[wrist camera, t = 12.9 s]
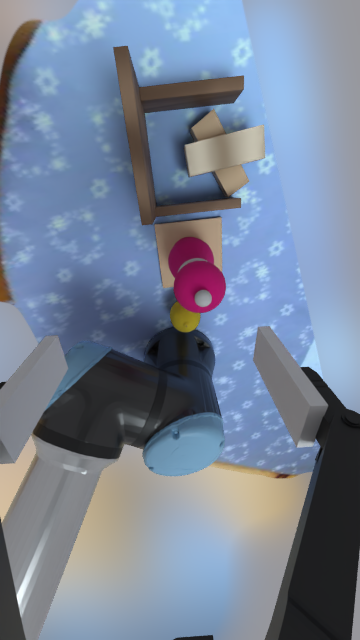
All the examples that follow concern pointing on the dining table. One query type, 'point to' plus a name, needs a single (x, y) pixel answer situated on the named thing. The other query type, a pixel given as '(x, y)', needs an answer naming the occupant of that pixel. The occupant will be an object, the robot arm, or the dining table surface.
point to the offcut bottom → (226, 177)
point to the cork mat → (175, 231)
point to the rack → (162, 100)
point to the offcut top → (225, 151)
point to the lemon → (183, 318)
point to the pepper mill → (196, 275)
